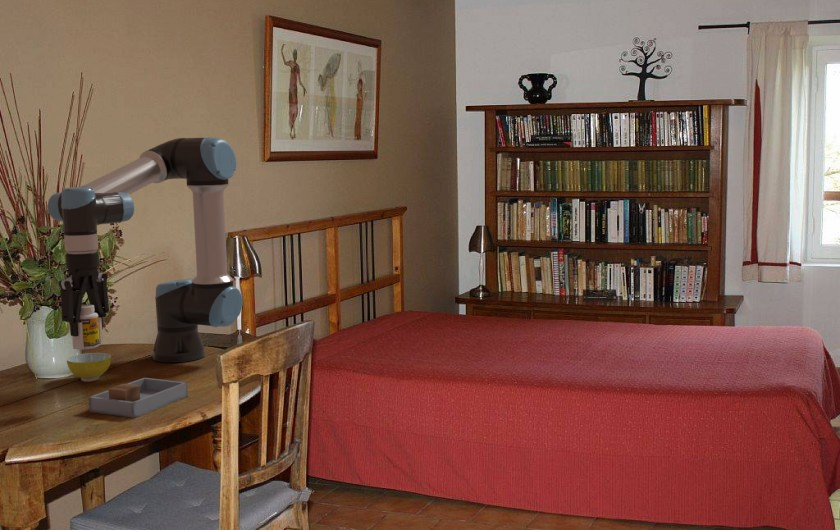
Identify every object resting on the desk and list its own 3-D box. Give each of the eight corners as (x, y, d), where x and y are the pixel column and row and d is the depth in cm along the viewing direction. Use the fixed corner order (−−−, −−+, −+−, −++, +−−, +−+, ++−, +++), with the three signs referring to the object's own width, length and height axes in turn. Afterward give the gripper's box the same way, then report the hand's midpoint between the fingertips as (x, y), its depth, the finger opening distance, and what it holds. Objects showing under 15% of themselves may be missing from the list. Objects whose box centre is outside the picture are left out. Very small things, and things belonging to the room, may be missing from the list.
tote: (144, 391, 236) (144, 377, 236) (187, 396, 231) (187, 382, 230) (89, 411, 218) (88, 397, 218) (134, 418, 213) (133, 403, 212)
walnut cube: (124, 403, 223) (123, 383, 222) (140, 405, 221) (139, 385, 220) (109, 409, 218) (108, 388, 218) (126, 411, 216) (125, 390, 216)
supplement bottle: (78, 350, 220) (75, 309, 218) (73, 346, 224) (70, 305, 223) (102, 347, 223) (99, 306, 221) (97, 343, 227) (94, 302, 226)
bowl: (121, 376, 252) (120, 354, 251) (91, 386, 241) (89, 363, 241) (89, 372, 256) (88, 351, 256) (58, 382, 246) (57, 360, 245)
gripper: (98, 246, 230) (104, 337, 233) (39, 255, 213) (47, 353, 217) (121, 247, 227) (127, 339, 230) (63, 257, 210) (70, 355, 214)
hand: (88, 345), depth 223 cm, fingers closed on supplement bottle, 6 cm apart
